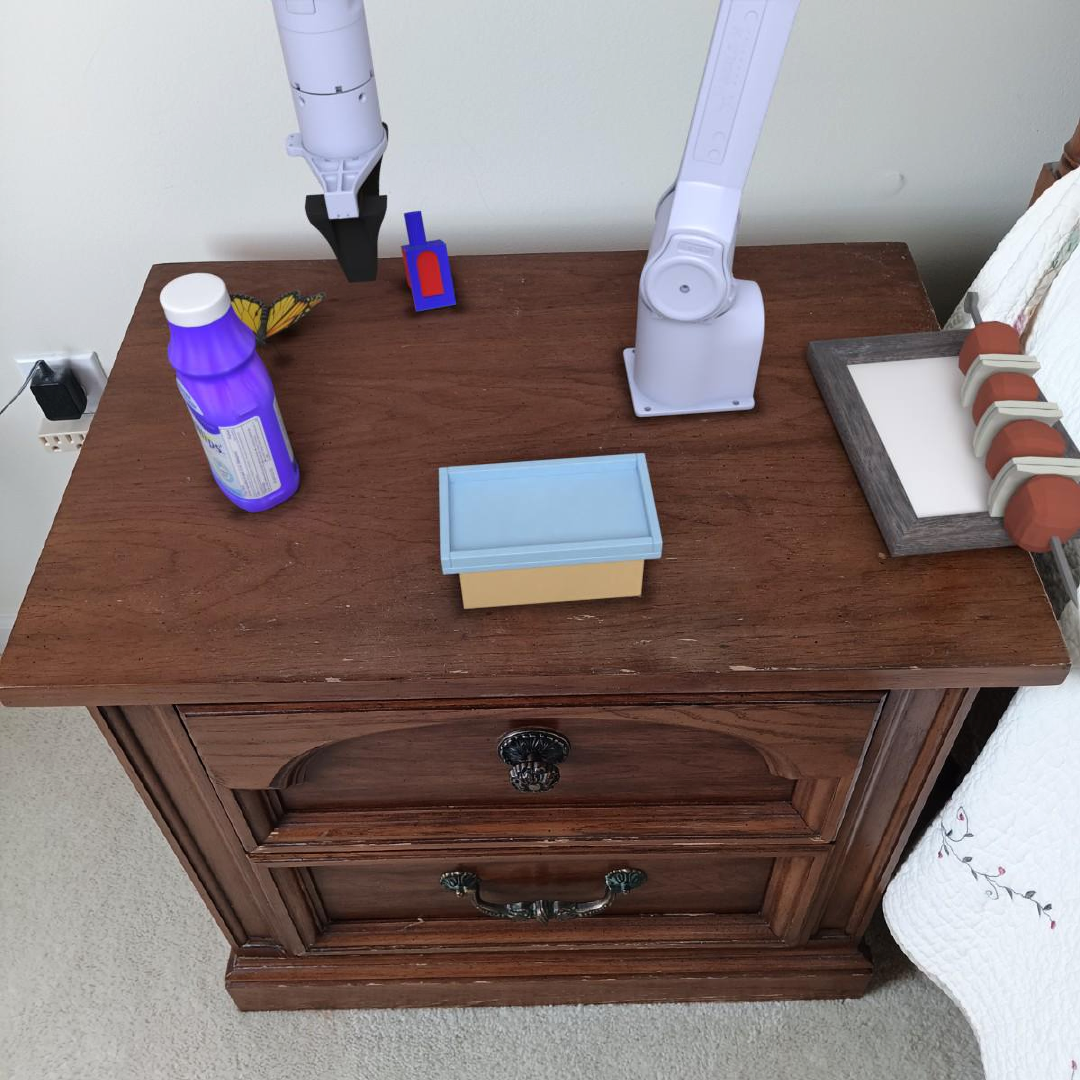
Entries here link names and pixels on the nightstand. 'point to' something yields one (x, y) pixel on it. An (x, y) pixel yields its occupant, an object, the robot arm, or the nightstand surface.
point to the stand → (548, 529)
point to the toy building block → (426, 267)
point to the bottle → (228, 394)
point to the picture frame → (913, 438)
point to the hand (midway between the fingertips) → (363, 249)
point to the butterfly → (272, 313)
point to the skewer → (1019, 442)
